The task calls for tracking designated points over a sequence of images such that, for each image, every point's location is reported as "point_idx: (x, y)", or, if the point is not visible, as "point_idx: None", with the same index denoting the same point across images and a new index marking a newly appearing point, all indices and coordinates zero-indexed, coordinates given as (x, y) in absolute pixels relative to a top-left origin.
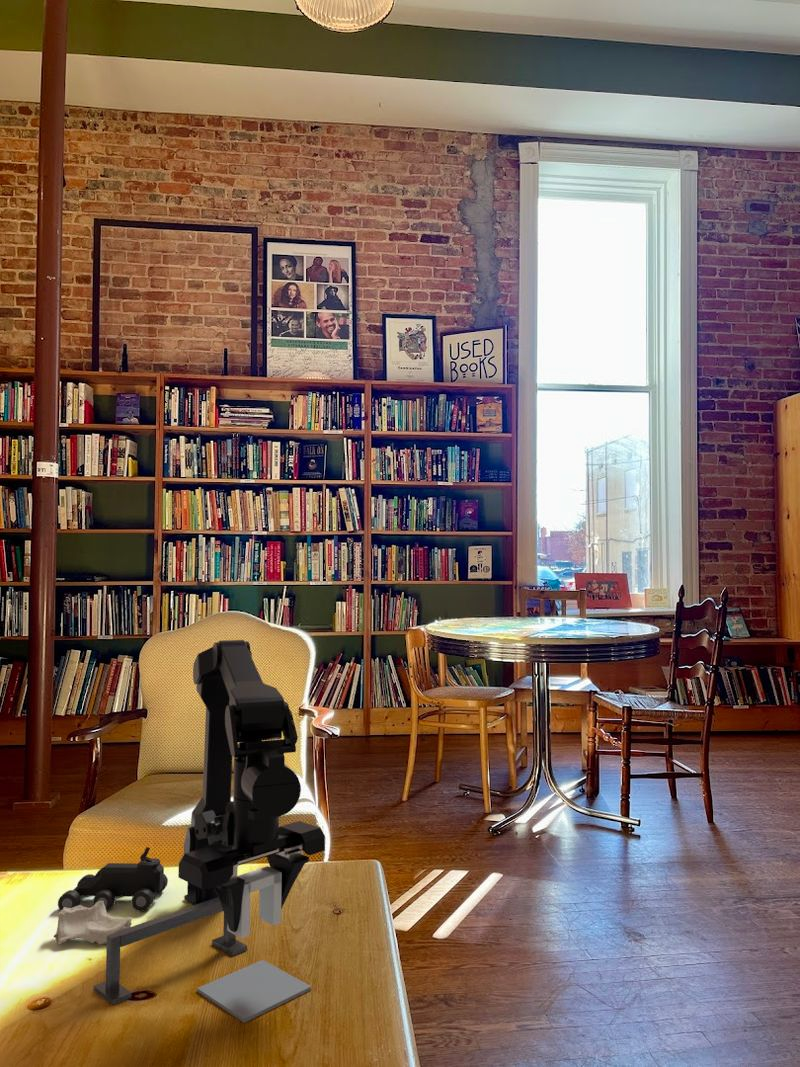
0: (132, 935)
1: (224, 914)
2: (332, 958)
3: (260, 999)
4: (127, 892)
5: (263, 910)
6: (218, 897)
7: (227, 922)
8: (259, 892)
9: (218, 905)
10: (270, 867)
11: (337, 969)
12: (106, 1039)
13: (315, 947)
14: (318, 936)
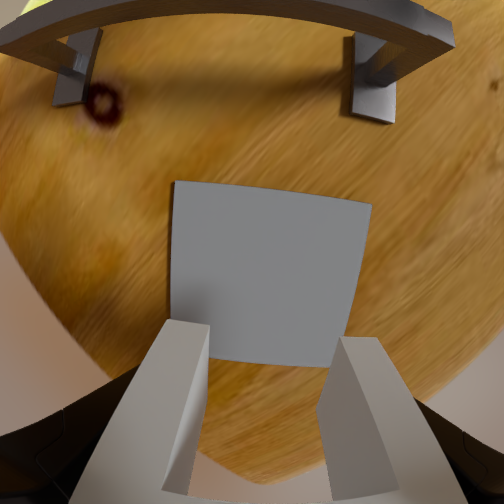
0: (35, 36)
1: (104, 385)
2: (443, 309)
3: (236, 331)
4: None
5: (339, 390)
6: (32, 425)
7: (131, 371)
8: (374, 419)
9: (374, 23)
10: (487, 497)
11: (413, 344)
12: (16, 200)
13: (465, 250)
14: (493, 222)
